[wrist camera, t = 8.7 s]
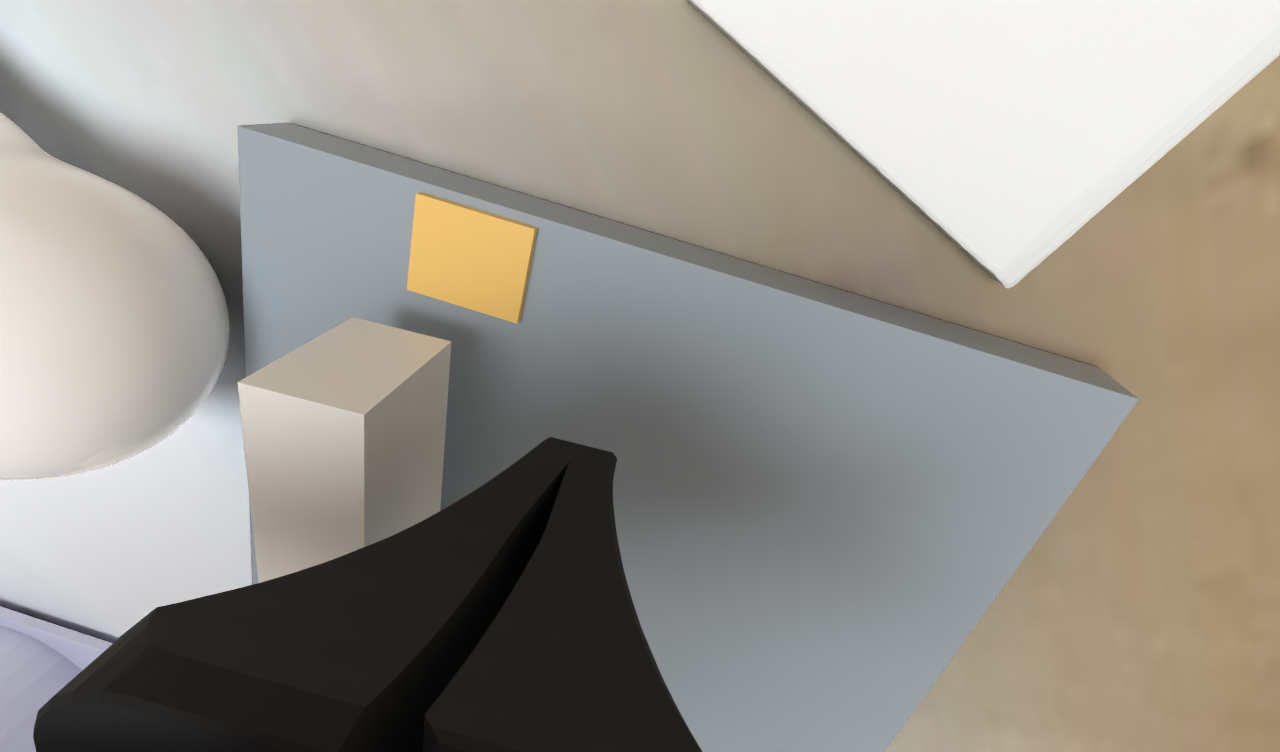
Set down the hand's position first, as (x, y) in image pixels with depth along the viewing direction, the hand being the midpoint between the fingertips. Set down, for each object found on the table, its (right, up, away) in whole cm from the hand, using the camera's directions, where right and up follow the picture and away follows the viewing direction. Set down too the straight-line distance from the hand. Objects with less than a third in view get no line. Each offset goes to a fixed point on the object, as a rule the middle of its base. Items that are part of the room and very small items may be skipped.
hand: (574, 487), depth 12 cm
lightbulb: (-16, +10, +1) cm, 18 cm away
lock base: (0, -3, +6) cm, 6 cm away
